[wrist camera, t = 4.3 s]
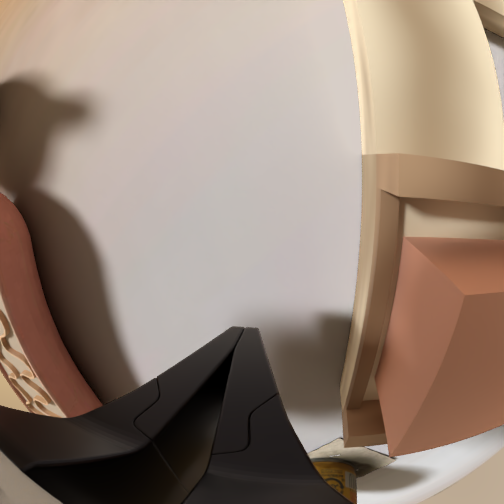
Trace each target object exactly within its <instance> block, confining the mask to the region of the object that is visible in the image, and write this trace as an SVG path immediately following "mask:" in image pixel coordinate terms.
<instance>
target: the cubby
mask: <svg viewBox="0 0 504 504" xmlns="http://www.w3.org/2000/svg"><path fill="white" fill-rule="evenodd" d="M400 197H413V198H427V199H439V200H450V201H460V202H470V203H478V204H487V205H494V206H502V207H504V170H500V169H496V168H491V167H487V166H482V165H477V164H472V163H467V162H461V161H455V160H449V159H442V158H435V157H428V156H420V155H411V154H402V153H390V154H376V213H375V231H374V244H373V255H372V265H371V274H370V282H369V290H368V297H367V304H366V310H365V316H364V322H363V328H362V333H361V339H360V344H359V348H358V353H357V358H356V362H355V367H354V371H353V375H352V379H351V383H350V387H349V391H348V395H347V398H346V402H345V406H344V409H343V413H342V422H343V441H344V448H351V447H364V446H374V445H382V444H387V438H386V432H385V427H384V421H383V416H382V411H381V406H380V401H379V399H378V400H365V401H363V398H364V395H365V392H366V388H367V385H368V382H369V379H370V375H371V372H372V368H373V365H374V361H375V357H376V354H377V350H378V346H379V342H380V337H381V333H382V329H383V324H384V319H385V314H386V309H387V304H388V299H389V293H390V287H391V281H392V274H393V267H394V259H395V251H396V242H397V231H398V218H399V201H400Z"/></svg>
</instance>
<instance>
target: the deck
mask: <svg viewBox="0 0 504 504" xmlns="http://www.w3.org/2000/svg"><path fill="white" fill-rule="evenodd" d="M343 3H344V7H345V12H346V16H347V21H348V26H349V32H350V37H351V43H352V49H353V56H354V63H355V70H356V78H357V87H358V97H359V109H360V123H361V143H362V215H361V235H360V250H359V263H358V273H357V283H356V292H355V300H354V308H353V315H352V322H351V328H350V334H349V340H348V346H347V352H346V357H345V362H344V367H343V372H342V377H341V382H340V395H341V407H342V413H343V409H344V406H345V402H346V398H347V395H348V391H349V387H350V383H351V379H352V375H353V371H354V367H355V362H356V358H357V353H358V348H359V344H360V339H361V333H362V328H363V322H364V316H365V310H366V304H367V297H368V290H369V282H370V274H371V265H372V255H373V244H374V231H375V213H376V154H390V153H402V154H411V155H420V156H428V157H435V158H442V159H449V160H455V161H461V162H467V163H472V164H477V165H482V166H487V167H491V168H496V169H500V170H504V120H503V111H502V104H501V97H500V91H499V85H498V80H497V75H496V71H495V66H494V62H493V58H492V54H491V51H490V47H489V44H488V40H487V37H486V34H485V31H484V28H485V29H487V30H489V31H491V32H493V33H495V34H497V35H499V36H501V37H503V38H504V0H343ZM403 237H438V238H467V239H491V240H504V207H502V206H494V205H487V204H478V203H470V202H460V201H450V200H439V199H427V198H413V197H400V201H399V218H398V231H397V242H396V251H395V259H394V267H393V274H392V281H391V287H390V293H389V299H388V304H387V309H386V314H385V319H384V324H383V329H382V333H381V337H380V342H379V346H378V350H377V354H376V357H375V361H374V365H373V368H372V372H371V375H370V379H369V382H368V385H367V388H366V392H365V395H364V398H363V401H365V400H378V399H379V396H378V392H377V387H376V383H375V379H374V377H375V374H376V371H377V367H378V364H379V360H380V357H381V353H382V350H383V346H384V342H385V338H386V334H387V329H388V325H389V321H390V316H391V311H392V306H393V301H394V296H395V290H396V284H397V278H398V272H399V265H400V257H401V249H402V240H403Z"/></svg>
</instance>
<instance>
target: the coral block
mask: <svg viewBox="0 0 504 504" xmlns="http://www.w3.org/2000/svg"><path fill="white" fill-rule="evenodd" d="M374 379H375V383H376V387H377V392H378V396H379V401H380V406H381V411H382V416H383V421H384V427H385V432H386V438H387V444H388V450H389V457H394V456H400V455H405V454H411V453H416V452H420V451H425V450H429V449H433V448H437V447H441V446H444V445H448V444H451V443H455V442H458V441H461V440H464V439H467V438H470V437H473V436H476V435H479V434H481V433H484V432H486V431H489V430H491V429H494V428H496V427H499V426H501V425H503V424H504V240H491V239H467V238H438V237H403V240H402V249H401V257H400V265H399V272H398V278H397V284H396V290H395V296H394V301H393V306H392V311H391V316H390V321H389V325H388V329H387V334H386V338H385V342H384V346H383V350H382V353H381V357H380V360H379V364H378V367H377V371H376V374H375V377H374Z"/></svg>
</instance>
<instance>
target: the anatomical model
mask: <svg viewBox="0 0 504 504" xmlns="http://www.w3.org/2000/svg"><path fill="white" fill-rule="evenodd" d="M0 371H1V372H2V374H3V376H4V377H5V379H6V380H7V382H8V383H9V385H10V386H11V387H12V389H13V390H14V392H15V393H16V395H17V396H18V397H19V399H20V400H21V401H22V403H23V404H24V405H25V406H26V408H27V409H28V410H29V411H30V413H35V414H41V415H46V416H53V417H60V418H70V417H76V416H80V415H82V414H85V413H87V412H90V411H92V410H94V409H96V408H99V407H101V406H103V405H102V403H101V402H100V401H99V399H98V398H97V397H96V395H95V394H94V392H93V391H92V390H91V388H90V387H89V385H88V384H87V382H86V381H85V379H84V378H83V376H82V375H81V373H80V372H79V370H78V369H77V367H76V365H75V363H74V362H73V360H72V358H71V357H70V355H69V353H68V351H67V349H66V347H65V346H64V344H63V342H62V340H61V337H60V335H59V333H58V331H57V328H56V326H55V323H54V321H53V319H52V316H51V314H50V311H49V308H48V306H47V303H46V300H45V297H44V293H43V290H42V286H41V283H40V279H39V275H38V271H37V267H36V262H35V258H34V253H33V248H32V243H31V237H30V234H29V231H28V228H27V225H26V223H25V221H24V219H23V217H22V215H21V214H20V212H19V211H18V209H17V208H16V206H15V205H14V204H13V203H12V202H11V201H10V200H9V199H8V198H7V197H6V196H4V195H3V194H1V193H0Z"/></svg>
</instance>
